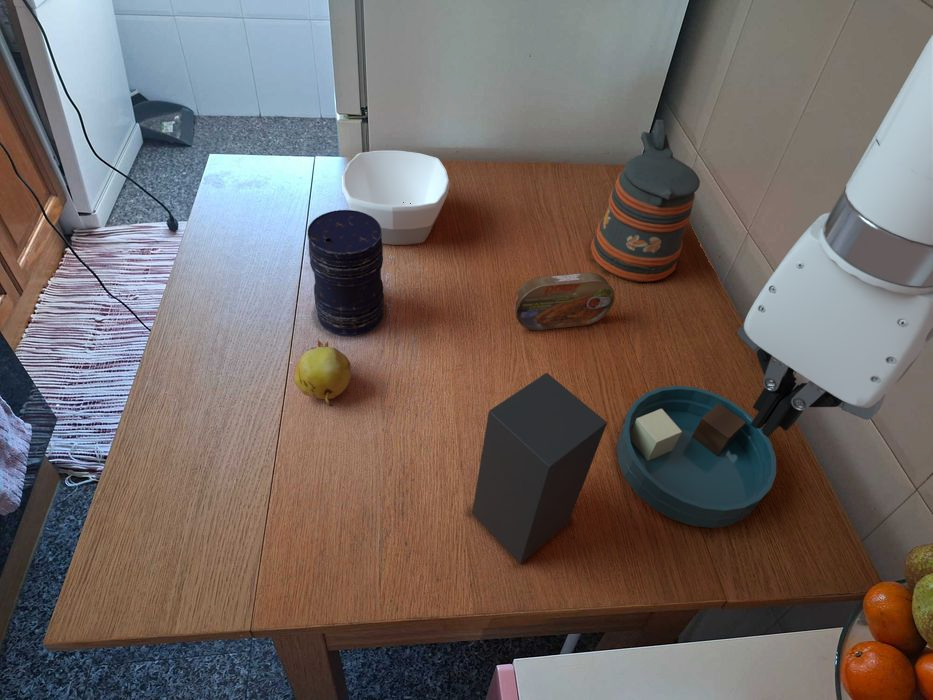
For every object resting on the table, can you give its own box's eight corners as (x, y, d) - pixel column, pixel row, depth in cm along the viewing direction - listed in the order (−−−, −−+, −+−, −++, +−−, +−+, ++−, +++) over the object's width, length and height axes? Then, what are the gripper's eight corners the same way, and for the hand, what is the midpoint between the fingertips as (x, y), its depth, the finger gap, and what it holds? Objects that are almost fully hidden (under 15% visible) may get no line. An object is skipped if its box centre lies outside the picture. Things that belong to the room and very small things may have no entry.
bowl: (447, 199, 119) (450, 152, 112) (446, 259, 106) (450, 211, 100) (350, 193, 118) (347, 146, 111) (338, 253, 105) (333, 204, 99)
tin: (513, 333, 96) (521, 289, 90) (508, 318, 98) (515, 275, 92) (608, 324, 99) (621, 281, 92) (601, 310, 101) (614, 267, 95)
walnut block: (734, 440, 84) (746, 422, 81) (717, 456, 82) (729, 438, 79) (708, 421, 86) (719, 402, 83) (691, 436, 84) (701, 417, 81)
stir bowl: (788, 473, 82) (804, 452, 78) (707, 559, 73) (722, 540, 69) (671, 386, 91) (681, 365, 87) (586, 454, 81) (594, 432, 78)
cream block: (672, 450, 82) (682, 431, 79) (647, 461, 81) (656, 442, 78) (652, 427, 85) (661, 408, 82) (628, 437, 83) (636, 418, 80)
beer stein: (582, 214, 119) (608, 109, 104) (660, 219, 119) (696, 116, 105) (596, 280, 106) (627, 171, 91) (684, 286, 106) (728, 179, 92)
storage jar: (352, 282, 101) (347, 200, 90) (398, 313, 97) (398, 231, 86) (302, 314, 95) (290, 230, 84) (348, 347, 91) (342, 264, 80)
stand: (569, 522, 74) (607, 422, 61) (520, 564, 70) (549, 467, 57) (520, 476, 78) (546, 372, 65) (471, 513, 74) (488, 410, 61)
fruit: (358, 386, 79) (352, 328, 85) (300, 382, 76) (298, 323, 83) (346, 420, 83) (342, 363, 90) (291, 418, 81) (291, 359, 87)
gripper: (1050, 276, 37) (878, 459, 50) (810, 162, 44) (715, 348, 57) (1007, 332, 33) (833, 514, 46) (752, 197, 40) (664, 388, 53)
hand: (768, 422), depth 52 cm, fingers closed
